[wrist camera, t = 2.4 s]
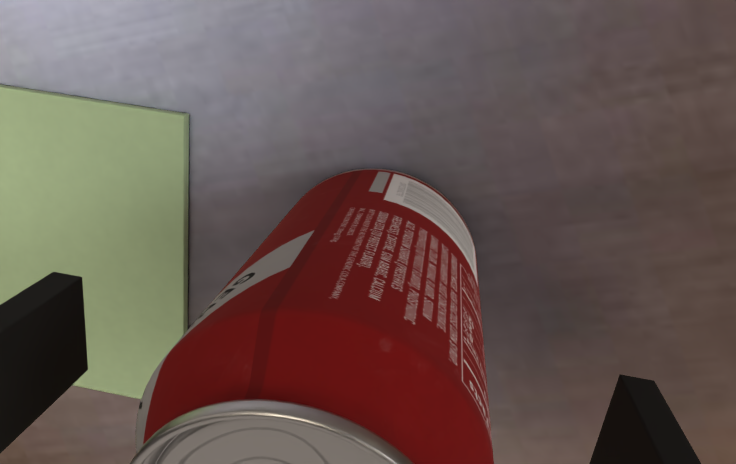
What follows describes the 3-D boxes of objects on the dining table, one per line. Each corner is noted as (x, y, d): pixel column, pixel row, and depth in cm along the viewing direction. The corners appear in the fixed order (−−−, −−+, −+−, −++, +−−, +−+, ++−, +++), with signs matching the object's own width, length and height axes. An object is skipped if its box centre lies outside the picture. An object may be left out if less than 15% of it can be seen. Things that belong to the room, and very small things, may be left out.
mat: (189, 113, 19) (184, 115, 19) (187, 402, 24) (183, 408, 23) (-132, 63, 20) (-143, 64, 20) (-76, 348, 25) (-85, 353, 24)
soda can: (407, 123, 18) (330, 291, 7) (512, 288, 20) (585, 642, 9) (248, 226, 20) (-6, 479, 9) (353, 367, 22) (247, 735, 11)
